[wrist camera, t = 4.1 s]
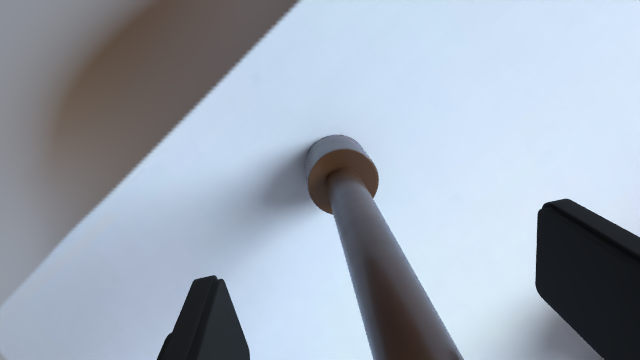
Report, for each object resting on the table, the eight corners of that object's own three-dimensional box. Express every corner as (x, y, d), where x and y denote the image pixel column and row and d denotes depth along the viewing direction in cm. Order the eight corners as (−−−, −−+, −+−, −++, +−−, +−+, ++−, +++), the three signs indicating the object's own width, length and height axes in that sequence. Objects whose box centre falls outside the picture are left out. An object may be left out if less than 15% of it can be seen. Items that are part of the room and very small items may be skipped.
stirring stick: (311, 199, 21) (360, 500, 7) (298, 142, 20) (326, 372, 6) (370, 186, 21) (535, 461, 7) (361, 128, 20) (540, 324, 6)
